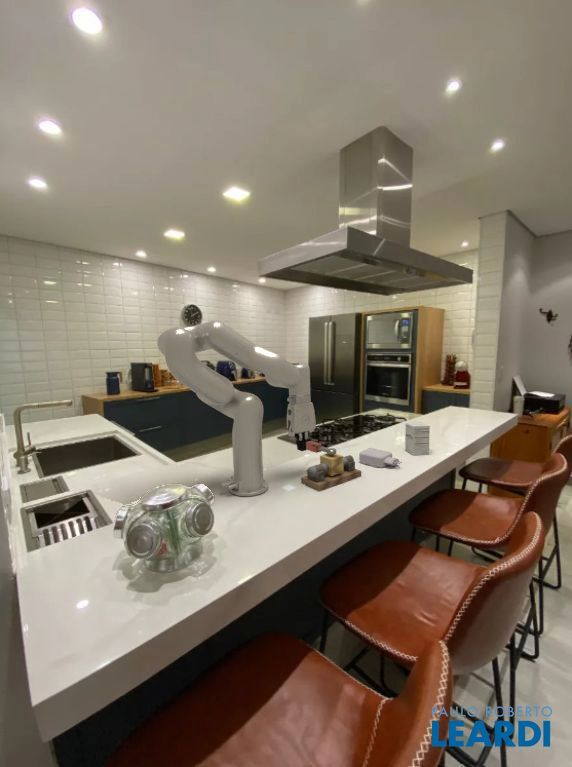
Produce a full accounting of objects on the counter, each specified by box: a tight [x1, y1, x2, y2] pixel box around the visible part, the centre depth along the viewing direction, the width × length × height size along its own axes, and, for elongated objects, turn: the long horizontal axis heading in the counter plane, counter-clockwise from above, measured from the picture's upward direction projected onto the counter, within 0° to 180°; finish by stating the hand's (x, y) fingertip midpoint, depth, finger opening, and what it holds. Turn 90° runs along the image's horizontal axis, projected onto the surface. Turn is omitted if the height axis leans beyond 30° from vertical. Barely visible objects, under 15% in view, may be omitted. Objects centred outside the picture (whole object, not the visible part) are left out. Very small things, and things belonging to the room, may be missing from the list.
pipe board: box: [300, 453, 362, 492], centre depth 112 cm, size 20×9×9 cm, turn 127°
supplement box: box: [404, 421, 431, 457], centre depth 140 cm, size 7×7×13 cm
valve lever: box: [306, 440, 337, 454], centre depth 116 cm, size 14×3×3 cm, turn 37°
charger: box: [358, 447, 403, 469], centre depth 127 cm, size 5×9×15 cm
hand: (301, 450), depth 117 cm, fingers closed
